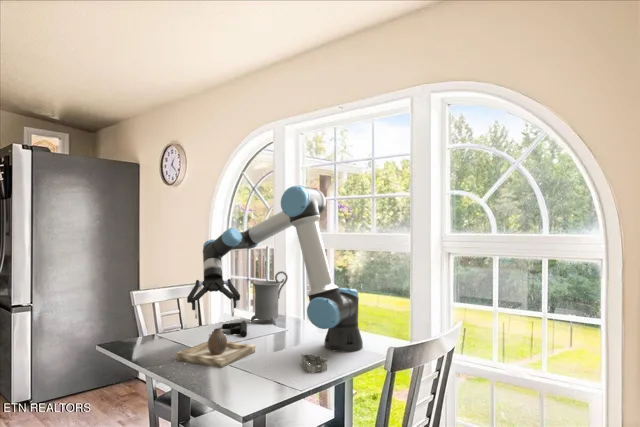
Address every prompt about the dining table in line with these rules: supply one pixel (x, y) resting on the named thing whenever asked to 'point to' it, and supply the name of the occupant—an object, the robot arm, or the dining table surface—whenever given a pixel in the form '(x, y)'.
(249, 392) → the dining table surface
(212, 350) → the vase
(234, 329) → the door handle
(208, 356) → the tray
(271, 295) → the mug
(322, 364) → the egg carton
